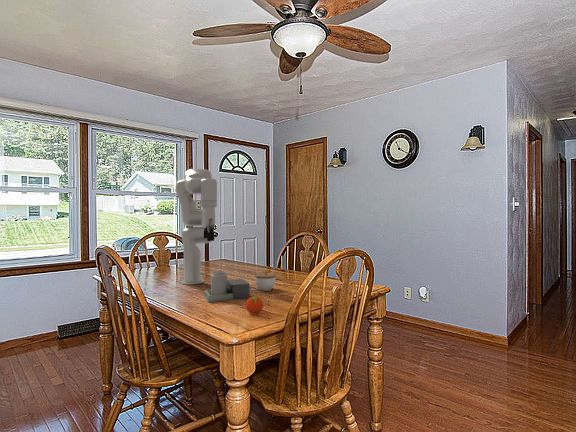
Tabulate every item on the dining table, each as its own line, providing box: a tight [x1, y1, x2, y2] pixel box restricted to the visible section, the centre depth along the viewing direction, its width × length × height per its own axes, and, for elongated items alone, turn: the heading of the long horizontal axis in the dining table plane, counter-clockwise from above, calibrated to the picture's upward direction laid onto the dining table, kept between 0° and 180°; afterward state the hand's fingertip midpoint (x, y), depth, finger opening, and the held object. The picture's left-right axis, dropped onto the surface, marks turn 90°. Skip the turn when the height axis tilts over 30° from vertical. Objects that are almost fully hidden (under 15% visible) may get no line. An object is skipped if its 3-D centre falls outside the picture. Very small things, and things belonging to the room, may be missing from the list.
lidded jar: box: [254, 270, 277, 292], centre depth 188 cm, size 11×11×9 cm
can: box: [210, 270, 228, 295], centre depth 170 cm, size 8×8×12 cm
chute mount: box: [203, 278, 250, 303], centre depth 171 cm, size 12×19×7 cm, turn 112°
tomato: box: [245, 295, 264, 315], centre depth 144 cm, size 8×7×7 cm
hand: (208, 239), depth 175 cm, fingers open, 9 cm apart
